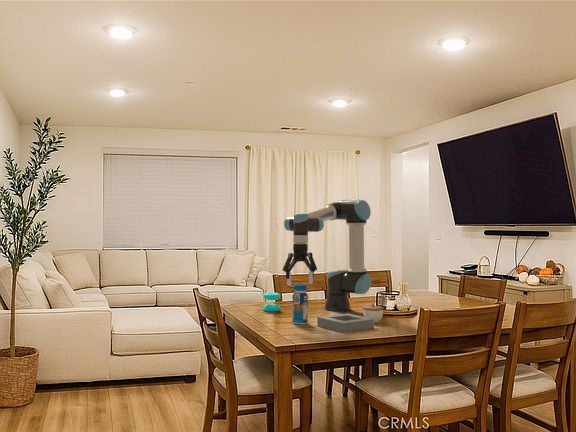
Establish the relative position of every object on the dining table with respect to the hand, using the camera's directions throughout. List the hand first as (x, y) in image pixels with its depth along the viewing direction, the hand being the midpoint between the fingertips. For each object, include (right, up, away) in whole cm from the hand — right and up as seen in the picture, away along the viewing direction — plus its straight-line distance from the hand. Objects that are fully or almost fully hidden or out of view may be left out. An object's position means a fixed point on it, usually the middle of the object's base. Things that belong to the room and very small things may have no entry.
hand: (299, 284), depth 311 cm
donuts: (-16, -20, +39) cm, 47 cm away
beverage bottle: (0, -20, 0) cm, 20 cm away
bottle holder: (+23, -20, -10) cm, 32 cm away
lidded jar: (+39, -20, +6) cm, 44 cm away
